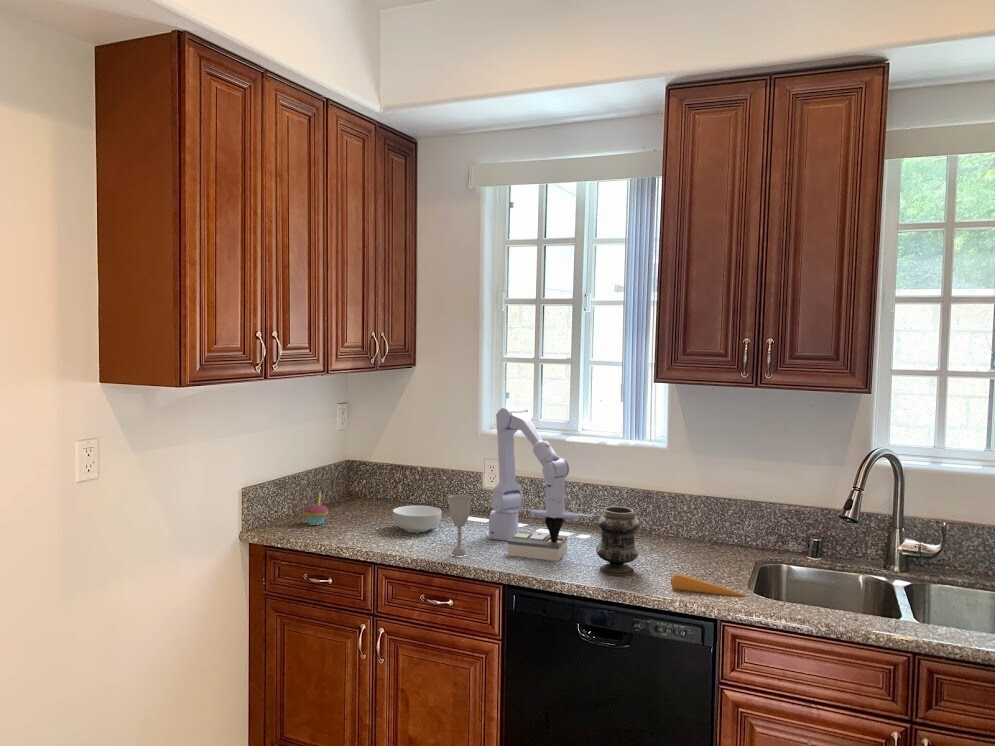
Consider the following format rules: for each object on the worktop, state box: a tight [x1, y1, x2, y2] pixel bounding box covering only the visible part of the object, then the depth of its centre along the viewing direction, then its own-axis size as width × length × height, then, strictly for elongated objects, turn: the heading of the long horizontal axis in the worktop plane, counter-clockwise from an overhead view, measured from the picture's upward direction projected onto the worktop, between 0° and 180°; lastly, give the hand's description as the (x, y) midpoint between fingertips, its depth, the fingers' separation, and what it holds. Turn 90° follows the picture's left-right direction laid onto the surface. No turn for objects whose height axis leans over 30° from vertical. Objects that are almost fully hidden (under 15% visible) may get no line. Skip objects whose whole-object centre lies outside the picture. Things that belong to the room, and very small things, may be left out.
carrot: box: [670, 573, 749, 598], centre depth 195 cm, size 20×4×4 cm, turn 73°
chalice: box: [448, 494, 472, 556], centre depth 225 cm, size 7×7×18 cm
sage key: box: [514, 533, 530, 539], centre depth 231 cm, size 4×4×2 cm
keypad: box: [507, 530, 568, 562], centre depth 229 cm, size 16×12×5 cm
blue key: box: [530, 535, 546, 541], centre depth 229 cm, size 4×4×2 cm
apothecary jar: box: [595, 505, 640, 577], centre depth 212 cm, size 12×12×18 cm
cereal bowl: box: [392, 505, 442, 533], centre depth 254 cm, size 17×17×7 cm
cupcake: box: [303, 489, 329, 525], centre depth 259 cm, size 9×8×12 cm
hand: (554, 542), depth 227 cm, fingers closed, pressing on terracotta key
